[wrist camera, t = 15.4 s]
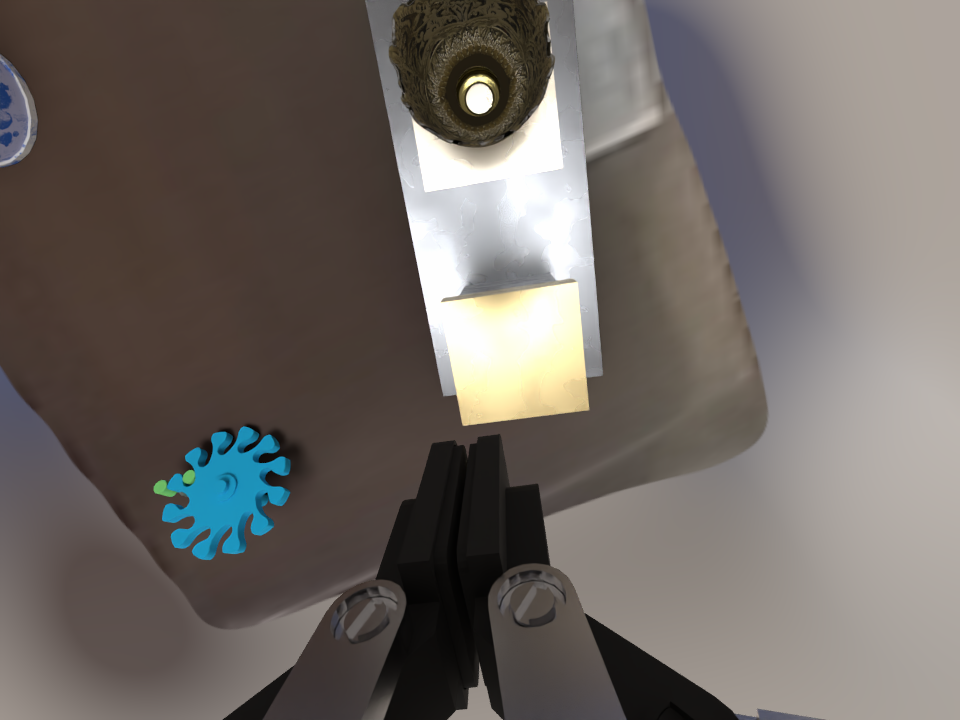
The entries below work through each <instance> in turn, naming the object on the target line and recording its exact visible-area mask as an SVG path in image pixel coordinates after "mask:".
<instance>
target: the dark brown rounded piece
mask: <svg viewBox="0 0 960 720" xmlns="http://www.w3.org/2000/svg"><path fill="white" fill-rule="evenodd" d="M549 20H550V15H549V11H548V8H547V5H546V4H545V2H542V1H539V0H408V1H407V2H405V3H404V2H403V3H402V4H401V5H400V6H399V7H398V9H397V10H396V11H395V13H394V15H393V19H392V45H390V46H389V59H390V62H391V64H392V65H393V66H394V68H395V70H396V72H397V77H398V85H399V88H400V89H401V92H402V95H401V96H402V97H401V96H400V98H401V101H402V102H403V104H404V105H405V107H406V108H407V109H408V110H409V111H410V114H411V116H412V118H413V119H414V121H415V122H416V123H417V124H418V125H419V126H421V127H422V128H423V129H425V130H427V131H429V132H430V133H432V134H434V135H435V136H437V137H438V138H439V139H441V140H443V141H445V142H447V143H450V144H456V145H459V146H464V147H471V148H480V147H487V146H490V145H494V144H496V143H499V142H501V141H503V140H505V139H506V138H508V137H509V136H511V135H512V134H513V133H515V132H516V131H518V130H519V129H520V128H521V126H522V125H523V124H524V123H525V122H526V121H527V120H528V119H529V118H530V117H531V116H532V114H533V113H534V112H535V111H536V109H537V108H538V107H539V105H540V104H541V102H542V100H543V99H544V96H545V94H546V91H547V87H548V83H549V79H550V77H551V75H552V71H553V68H554V64H555V55H553V54H552V53H551V40H550V37H549V32H548V23H549ZM475 84H484V85H486V86H487V87H489V89H490V90H491V92H492V96H493V101H492V105H491V107H490V108H489V110H487V111H486V112H484V113H481V114H478V113H474V112H473V111H471V110H470V109H469V107H468V105H467V102H466V96H467V92H468V90H469V89H470V88H471V87H472V86H473V85H475Z"/></svg>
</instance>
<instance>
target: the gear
mask: <svg viewBox="0 0 960 720" xmlns="http://www.w3.org/2000/svg"><path fill="white" fill-rule="evenodd" d="M258 437H259V433H257V432H256V431H254V430H252V429H250V428H248V427H245V426H244V427H242V428H241V429H240V431H239V433H238V438H237V440H236V442H235V444H234V446H233V447H232V448H231V449H230V450H229V451H228V452H227V453H226V454H224V451H225V449H226V448H227V447H228V446H229V445H230V444H231V442H232V440H233V436H232V435H231V434H229V433H227V432H218V433H214V434H213V435H212V438H211V441H212V444H213V453H212V456H211V459H210V461H209V463H208V464H207V465H206V466H205V462H206V459H207V456H208V454H207V452H206V451H205V450H203V449H201V448H195V449H193V450H192V451H190V452H189V453H188V454H186V456H185V459H186V461H187V462H188V463H190V464H191V465H192V466H193V468H194V470H195V471H193V470H189V471H187V472H186V473H185V474H184V475H181V474H175V475H174V476H173V477H172V479H171V480H170V481H169V482H167V481H164V480H161V481H159V482H157V483H156V485H155V486H154V492H155V493H157V494H161V495H165V496H169V497H172V496H174V495H175V494H176V493H177V492H179V493H180V494H181V495H182V496H186V497H189V499H190V502H189V505H188V506H187V507H186V508H185V509H184V508H183V507H182V506H181V505H176V504H167V505H166V506H165V508H164V511H163V517H162V520H163V521H166V522H172V523H175V522H178V521H179V520H181V519H183V518H185V517H188V516H194V517H195V523H194V525H193V526H192V527H191V528H190V529H177V530H175V531H174V532H173V533H172V534H171V539H172V543H173V545H174V547H175V548H186V547H188V546H189V545H190V544H191V543H192V541H193V540H194V539H195V538H196V537H197V536H198V535H199V534H200V533H201V532H203V531H205V530H207V529H209V528H210V529H211V533H210V536H209V537H208V538H207V539H206V540H204V541H201V542H199V543H198V544H196V545H195V547H194V548H193V551H192V553H193V554H194V555H195V556H196V557H198V558H200V559H204V560H211V559H212V558H213V557H214V556H215V554H216V550H217V546H218V543H219V541H220V539H221V537H222V536H223V535H224V533H225V532H226V531H227V530H228V529H229V528H230V527H232V529H233V530H232V534H231V535H230V537H229V538H228V539H227V540H226V541H225V542H224V544H223V548H222V550H223V553H230V554H238V553H242V552H244V551H245V549H246V541H245V537H244V529H245V525H246V522H247V519H248V517H249V515H251V514H252V513H253V515H254V518H253V521H252V524H251V531H252V533H253V534H255V535H263V534H265V533H267V532H268V531H269V530H270V529H272V528H273V527H274V522H273V520H272V519H271V518H269V517H268V516H266V514H265V513H264V511H263V508H262V506H265V505H266V504H267V502H268V496H269V501H270V502H271V503H272V504H275V505H278V506H282V505H283V504H284V503H285V502H286V501H287V499H288V497H289V495H290V491H289V490H288V489H286V488H283V487H279V486H278V487H272V486H270V485H269V484H268V483H267V482H266V480H265V476H266V474H267V473H268V472H269V471H271V470H272V471H273V472H275V473H277V474H279V475H282V476H285V475H288V474H289V472H290V465H291V463H290V460H289V459H287V458H285V457H278V458H277V459H275V460H273V461H271V462H268V463H259V457H260V456H261V455H262V454H263V453H275V452H277V451H278V450H279V449H280V445H279V443H278V441H277V439H276V438H275V437H273V436H271V435H267V436H265V437H264V438H263V439H262V440H261V442H260V443H259V444H258V445H257V446H256V447H255V448H253V449H252V450H250V451H248V452H245V453H243V451H244V448H245V447H246V446H247V445H249V444H251V443H253V442H255V441H256V440H257V439H258ZM267 492H268V496H267V495H265V493H267Z"/></svg>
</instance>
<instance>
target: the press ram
mask: <svg viewBox="0 0 960 720" xmlns="http://www.w3.org/2000/svg"><path fill="white" fill-rule="evenodd" d="M440 307H441V312H442V317H443V323H444V328H445V333H446V339H447V344H448V349H449V355H450V360H451V365H452V371H453V376H454V381H455V387H456V392H457V397H458V403H459V408H460V413H461V419H462V424H463V426H464V425H472V424H480V423H488V422H496V421H505V420H513V419H521V418H529V417H537V416H545V415H553V414H561V413H569V412H577V411H585V410H589V402H588V392H587V381H586V370H585V359H584V349H583V338H582V327H581V316H580V305H579V295H578V284H577V281H575V280H574V279H573V278H571V279H564V280H558V281H551V282H545V283H538V284H532V285H525V286H518V287H512V288H505V289H499V290H492V291H485V292H479V293H472V294H466V295H459V296H452V297H446V298H443V299H442V301H441V302H440Z"/></svg>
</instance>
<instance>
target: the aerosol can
mask: <svg viewBox="0 0 960 720" xmlns="http://www.w3.org/2000/svg"><path fill="white" fill-rule="evenodd" d="M37 124H38V119H37V114H36V109H35V104H34V99H33V97H32V95H31V93H30V91H29V89H28V87H27V85H26V82H25V80H24V79H23V78H22V76H21V75H20V74H19V73H18V71H17V70H16V69H15V67H14V66H13V65H12V64H11V62H10V61H8V60H7V59H6V58H5V57H3V56H2V55H1V54H0V167H6V166H10V165H13V164H16V163H19V162H20V161H21V160H22V159H23V158H24V157H26V156H27V155H28V154H29V153H30V151H31V149H32V146H33V144H34V142H35V140H36V135H37Z"/></svg>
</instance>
